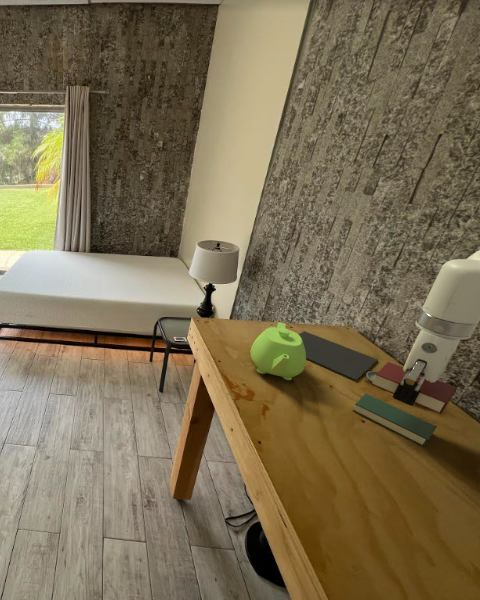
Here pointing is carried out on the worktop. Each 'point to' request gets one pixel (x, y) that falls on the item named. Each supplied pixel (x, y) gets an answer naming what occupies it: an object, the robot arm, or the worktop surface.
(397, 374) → the top book
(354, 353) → the felt mat
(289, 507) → the worktop surface
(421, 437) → the bottom book
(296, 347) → the teapot
